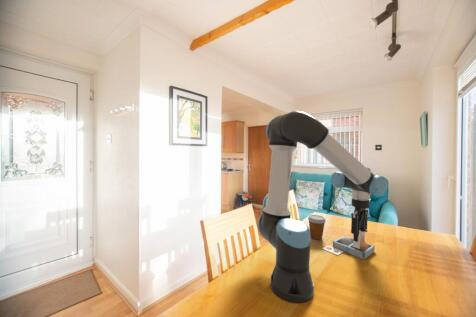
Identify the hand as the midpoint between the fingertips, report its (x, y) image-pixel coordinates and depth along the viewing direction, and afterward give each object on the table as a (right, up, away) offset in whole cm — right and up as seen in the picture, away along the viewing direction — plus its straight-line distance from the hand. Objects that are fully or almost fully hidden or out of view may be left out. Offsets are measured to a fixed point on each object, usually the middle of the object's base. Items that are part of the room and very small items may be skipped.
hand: (358, 245), depth 98 cm
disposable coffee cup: (-14, -3, +18) cm, 23 cm away
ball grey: (-2, -4, +7) cm, 9 cm away
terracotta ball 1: (0, 0, 0) cm, 0 cm away
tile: (-11, -4, +3) cm, 12 cm away
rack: (0, -4, +5) cm, 6 cm away
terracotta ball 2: (+4, -4, +3) cm, 7 cm away
